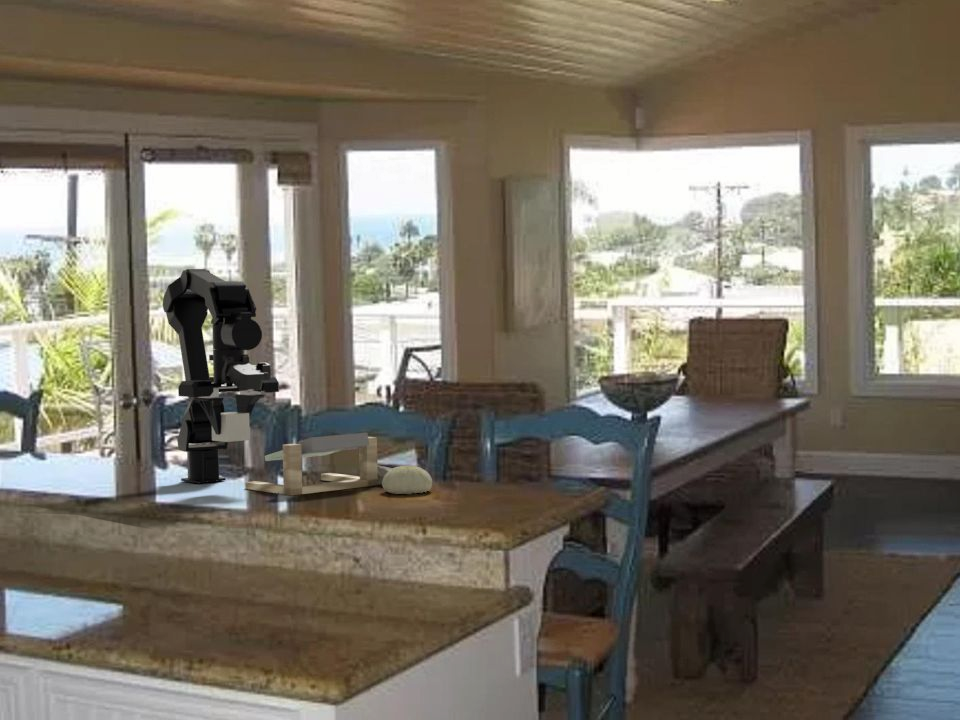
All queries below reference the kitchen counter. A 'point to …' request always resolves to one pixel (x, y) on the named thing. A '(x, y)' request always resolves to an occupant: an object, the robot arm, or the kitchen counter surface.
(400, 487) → the sea urchin shell
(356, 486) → the frame
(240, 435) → the off-white cube
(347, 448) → the trapdoor
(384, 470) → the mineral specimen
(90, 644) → the kitchen counter surface
